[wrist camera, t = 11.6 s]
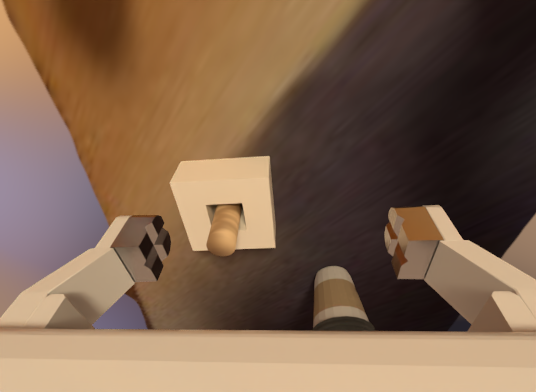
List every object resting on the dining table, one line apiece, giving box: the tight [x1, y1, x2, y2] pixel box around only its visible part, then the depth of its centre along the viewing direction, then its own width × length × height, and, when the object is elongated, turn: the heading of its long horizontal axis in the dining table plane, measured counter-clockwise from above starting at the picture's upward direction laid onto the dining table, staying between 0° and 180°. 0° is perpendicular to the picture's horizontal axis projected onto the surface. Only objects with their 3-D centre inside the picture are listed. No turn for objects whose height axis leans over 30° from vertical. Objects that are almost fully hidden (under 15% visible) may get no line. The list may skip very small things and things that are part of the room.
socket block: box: [170, 156, 276, 251], centre depth 47 cm, size 14×14×6 cm
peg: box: [206, 203, 242, 256], centre depth 45 cm, size 4×4×12 cm
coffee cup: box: [312, 266, 375, 331], centre depth 56 cm, size 11×11×15 cm
